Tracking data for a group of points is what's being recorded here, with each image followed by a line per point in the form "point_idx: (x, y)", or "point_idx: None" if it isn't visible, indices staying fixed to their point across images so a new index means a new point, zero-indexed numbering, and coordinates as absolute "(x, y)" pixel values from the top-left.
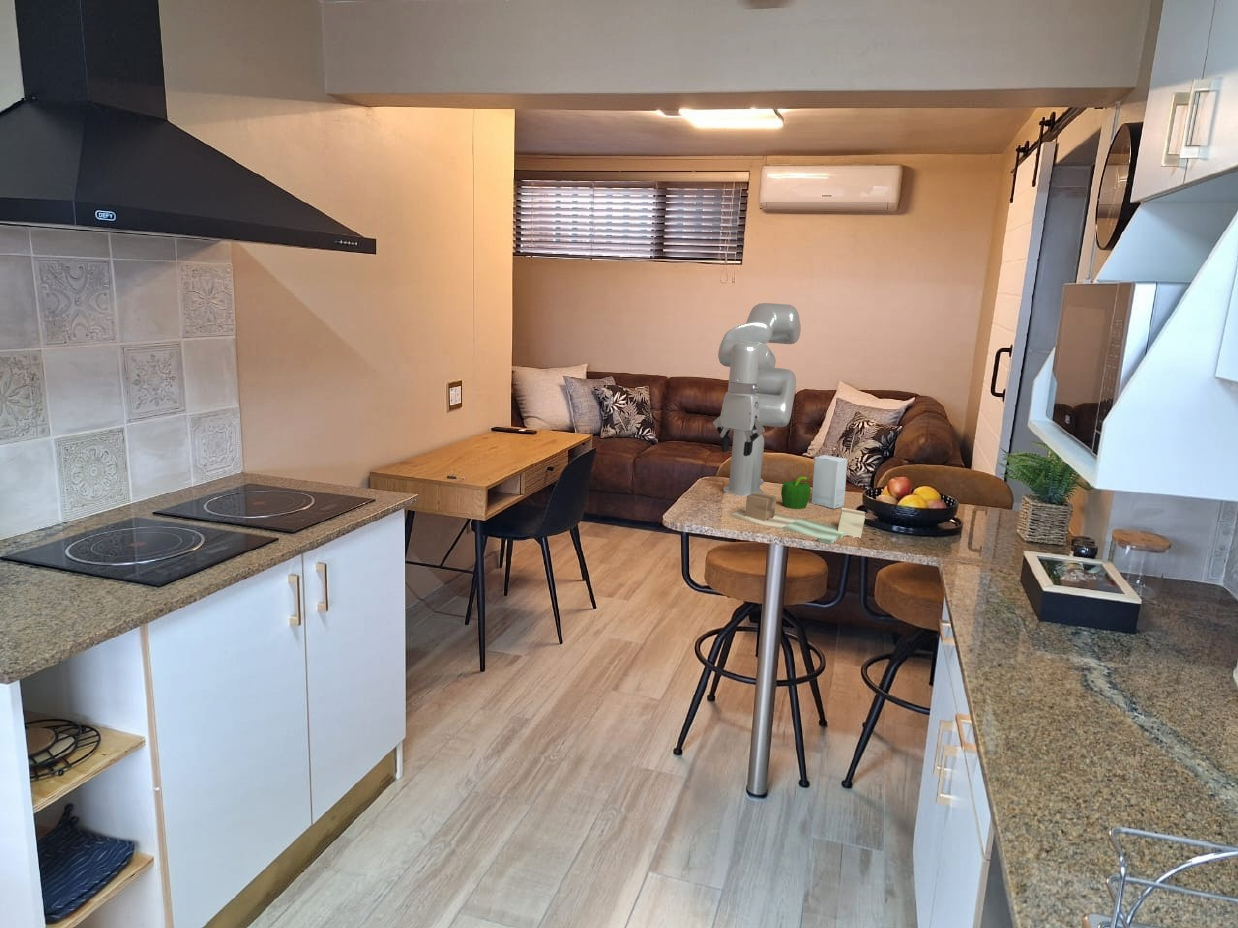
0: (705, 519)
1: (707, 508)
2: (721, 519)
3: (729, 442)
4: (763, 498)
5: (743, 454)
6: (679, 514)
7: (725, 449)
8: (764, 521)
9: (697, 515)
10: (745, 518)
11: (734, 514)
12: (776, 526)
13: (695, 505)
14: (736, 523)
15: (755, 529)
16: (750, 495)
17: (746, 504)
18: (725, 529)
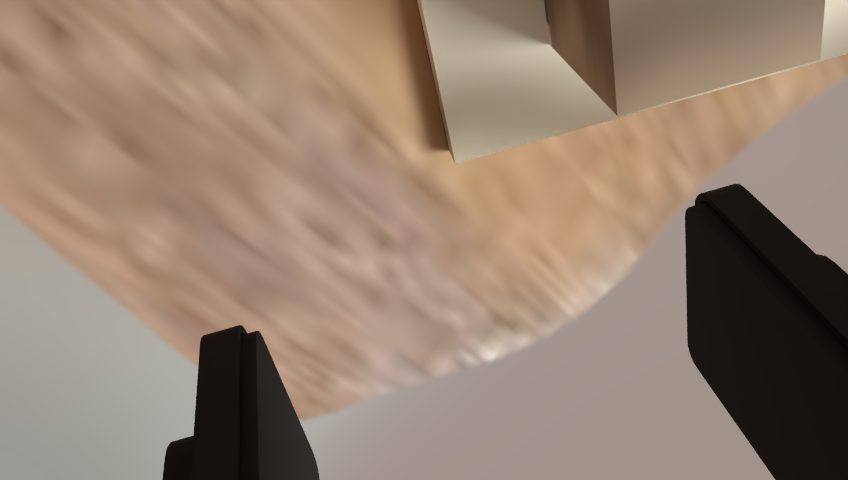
0: (371, 265)
1: (131, 52)
2: (429, 172)
3: (263, 463)
4: (774, 49)
5: (698, 366)
6: (197, 338)
7: (303, 456)
8: None
9: (270, 253)
10: (579, 78)
11: (463, 74)
12: (832, 27)
13: (2, 80)
14: (551, 148)
15: (706, 133)
16: (636, 80)
17: (588, 80)
18: (583, 291)
